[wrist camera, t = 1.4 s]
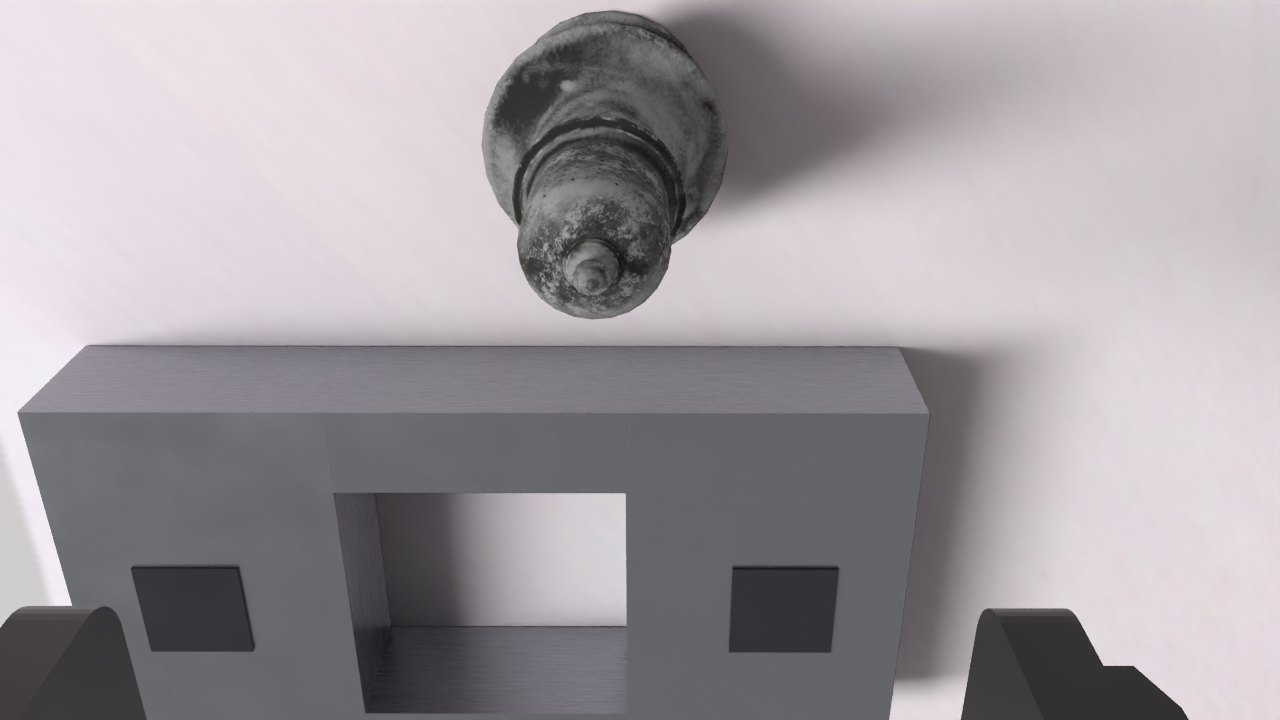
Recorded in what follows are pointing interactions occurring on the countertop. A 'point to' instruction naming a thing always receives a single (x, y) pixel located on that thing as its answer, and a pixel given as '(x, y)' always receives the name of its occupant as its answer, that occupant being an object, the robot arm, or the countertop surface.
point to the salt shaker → (603, 158)
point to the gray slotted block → (488, 463)
